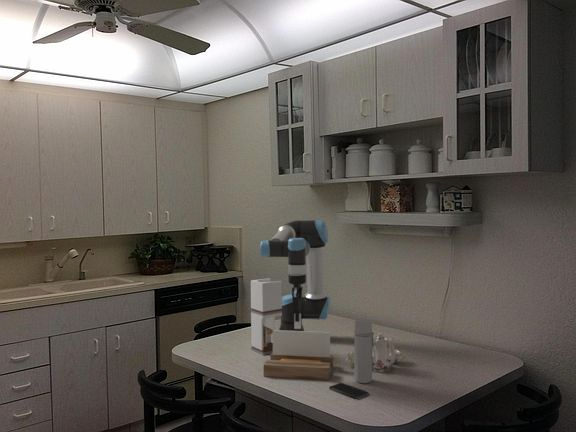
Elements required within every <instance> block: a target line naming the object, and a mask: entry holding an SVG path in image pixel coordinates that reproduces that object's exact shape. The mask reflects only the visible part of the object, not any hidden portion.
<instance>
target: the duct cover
mask: <svg viewBox="0 0 576 432" xmlns="http://www.w3.org/2000/svg"><path fill="white" fill-rule="evenodd" d="M272 343H273V355H289V356H310V357H330V355H331V332H327V331H310V330H309V331H308V330H307V331H305V330H304V331H284V330H279V329H275V330H273V333H272Z"/></svg>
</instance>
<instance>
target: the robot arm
mask: <svg viewBox="0 0 576 432" xmlns="http://www.w3.org/2000/svg"><path fill="white" fill-rule="evenodd" d="M328 242H329V232H328V226H327V224H326V222H325V221H324V220H317V219H315V220H314V219H313V220H310V219H309V220H305V219H304V220H299V219H298V220H293V221H292V220H291V221H289V222H286V223H284V224H283V225H282V226H280V227H279V228H278V230H277V233H276V234H275V235H274V236H273V237H272V238H271V239H270V240H269V239H265V240H262V241H261V242H260V245H259V254H260V256H261V257H265V258H288V259H287V260H288V261H287V263H288V265H287V267H286V268H287V269H288V278H287V279H288V283H289V284H290V285H293V286H292V288H291V294H287V295H282V315H281V316H280V325H279V328H278V330H284V331H305V327H304V325H303V320H318V321H319V320H326V319H327V318H328V316H329V312H330V311H329V310H330V303H331V301H330V300H331V298H329V297H328V294H327V293H326V291H325V288H324V287H325V286H324V256H323V255H324V251H323V249H324V248H325V247H326V244H327V243H328ZM306 283H307V292H306V293H305V294H304V296H303V286H302V285H304V284H306Z"/></svg>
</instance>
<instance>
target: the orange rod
mask: <svg viewBox="0 0 576 432" xmlns="http://www.w3.org/2000/svg"><path fill="white" fill-rule="evenodd" d="M281 360H284V361H304V362H321V361H319V360H302V359H281Z"/></svg>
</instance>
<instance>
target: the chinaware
mask: <svg viewBox="0 0 576 432" xmlns="http://www.w3.org/2000/svg"><path fill="white" fill-rule="evenodd" d="M394 339H395V337H391V338H390V339H389V342H388V338H386V337H384V336H383V334H382V332H380V333H378V335H377V336H376V337H373V341H374V349H373V350H372V367H373V368H374V365H375V359H376V366H375V368H374V369H373V368H372V370H374V371H373V372H375V371H388V370H390V371H391V369H392V367H393V365H394V364H393V362H395V363H396V362H397V363H398V362H399V361H400V359H399V357H400V356H403V358H402V359H401V361H403V360H404V359H405V355H404V354H403V353H402V351H401V350H398V349H397V348H395V346H394V343H393V341H394ZM388 343H389V345H388ZM387 345H388V346H389V348H388V346H387ZM374 350H375V359H374ZM346 357H347V358H346V360H345V365H346V366H350V367H353V366H354V367H353V368H355V351H353V352H352V353H350V352H349V353H347V354H346ZM347 361H348V362H349V363H347ZM388 372H389V371H388Z"/></svg>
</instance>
